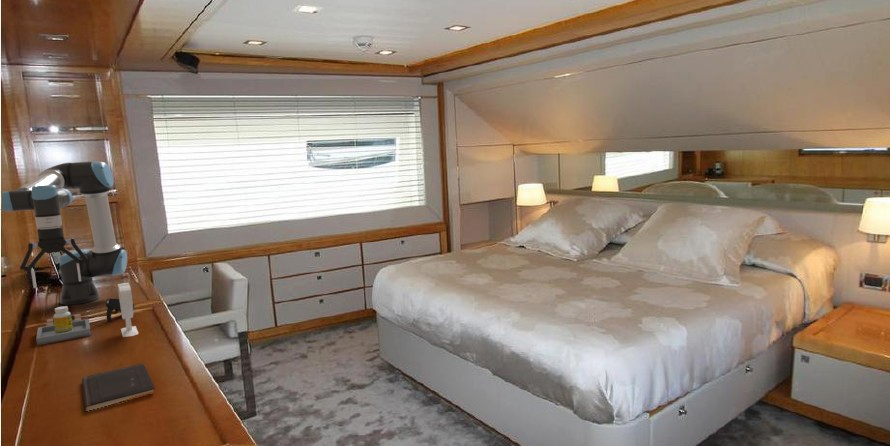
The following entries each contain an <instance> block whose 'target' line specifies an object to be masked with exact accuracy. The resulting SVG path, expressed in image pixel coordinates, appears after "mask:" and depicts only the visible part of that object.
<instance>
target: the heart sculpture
mask: <svg viewBox="0 0 890 446" xmlns="http://www.w3.org/2000/svg"><path fill="white" fill-rule="evenodd" d="M117 292H118V293H117V294H118V298H119V301H120V307H121V312H120V313H121V318H122V320H125V327H123V328H120V330H121V335H122V338H126V337H127V338H128V337H134V336H136V335H139V331H138V329H137V326H136V325H134V326H133V325H132V318H134V311H133V304H134V303H133V294H132V289H131V285H130V283H129V282H123V283H118V284H117Z"/></svg>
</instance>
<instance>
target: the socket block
mask: <svg viewBox="0 0 890 446" xmlns="http://www.w3.org/2000/svg"><path fill="white" fill-rule="evenodd" d="M81 315H82V314H81V313H75V314H71V319H72V322H73V321H78V320H82V316H81ZM50 325H54V318H53V317H51V318H47V319H46V325H45V326H50Z"/></svg>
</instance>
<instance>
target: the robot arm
mask: <svg viewBox="0 0 890 446" xmlns="http://www.w3.org/2000/svg"><path fill="white" fill-rule="evenodd" d="M113 186H114V175H113V171H112V169H111V168H110V166H109V165H108V164H107V163H106V162H104V161H80V162H64V163H61V164H60V163H59V164H56V165H54V166H51V167H48V168H47V169H44V170H43V171H41V172H40V173H39V174H38V176H37V177H35V178H34V179H33V180H30V181H29V182H27V183H25V184H22V186H20V187H18V188H17V189H14V190H7V191H1V192H2V210H1V211H3V212H11V213H12V212H21V211H24V212H25V211H33V212H34V218H35V219H34V220H35V224H36V228H37V239H38V242H31V241H30V242H29V243H28V248H27V249H28V250H27V252H26V253H25V255H24V258H23V261H22V263H21V265H20V266H19V269H20V270H22V271H23V270H24V271H26V274H27V278H28V280H32V286H33V289H37V282H36V281H37V280H36V274H35V269H34V268H33V267H35V265H36V264H37V263H38V262H39V260H40V259H41V258H42V257H43V255H45V254H46V253H47V254H52V253H59V252H63V253H64V254H61V255H60V257H59V268H60V269H59V270H60V276H61V281H62V290H61V292H60V293H61V294H60V297H59V302H60V304H61V305H65V306H68V305H69V306H70V305H80V304H85V303H90V302H93V301H95V300H99V298H100V293H99V291H98V288H97V287H96V285H95V284H94V280H93V278H98V277H113V276H119V275H122V274H124V272H125V271H126V270H127V265H128V252H127V251H126V250H125V249H122V247H121V245H120V244H119V243H117V240H116V235H115V229H114V223H113V219H112V212H111V207H110V203H109V196H108V194H109V193H110V191H111V188H112V187H113ZM72 189H73V190H76V189H77V190H79V194H80V195H81V196H83V197H84V199H85V205H86V209H87V213H88V219H89V224H90V228H91V229H90V230H91V234H92V239H93V245H94V246H93V248H92V249H91V252H90V250H89V249H88V248H87V249H86V248H85V249H81V248H80V247H79V245H77V243H76V241H75V238H74V237H71V238H69V239H65V236H64V230H63V229H64V228H63V227H62V225H63V222H62V214H61V209H64V208H66V207H68V206H69V205H71V204H72V203H73V194H72V192H71V191H70V190H72ZM66 244H68V245H69V246H72V248H73V249H74V251H70V250H69V249H67V247H65V245H66ZM36 247H38V248H40V249H41V250H40V251H39V252H38V254H37V255H36V256H35V257H34V258H33V260H32V261H31V262H30V263H29V264H28V265H27V263H28V262H29V259H30V257H31V255H32V252H33V250H35V249H36Z"/></svg>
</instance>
